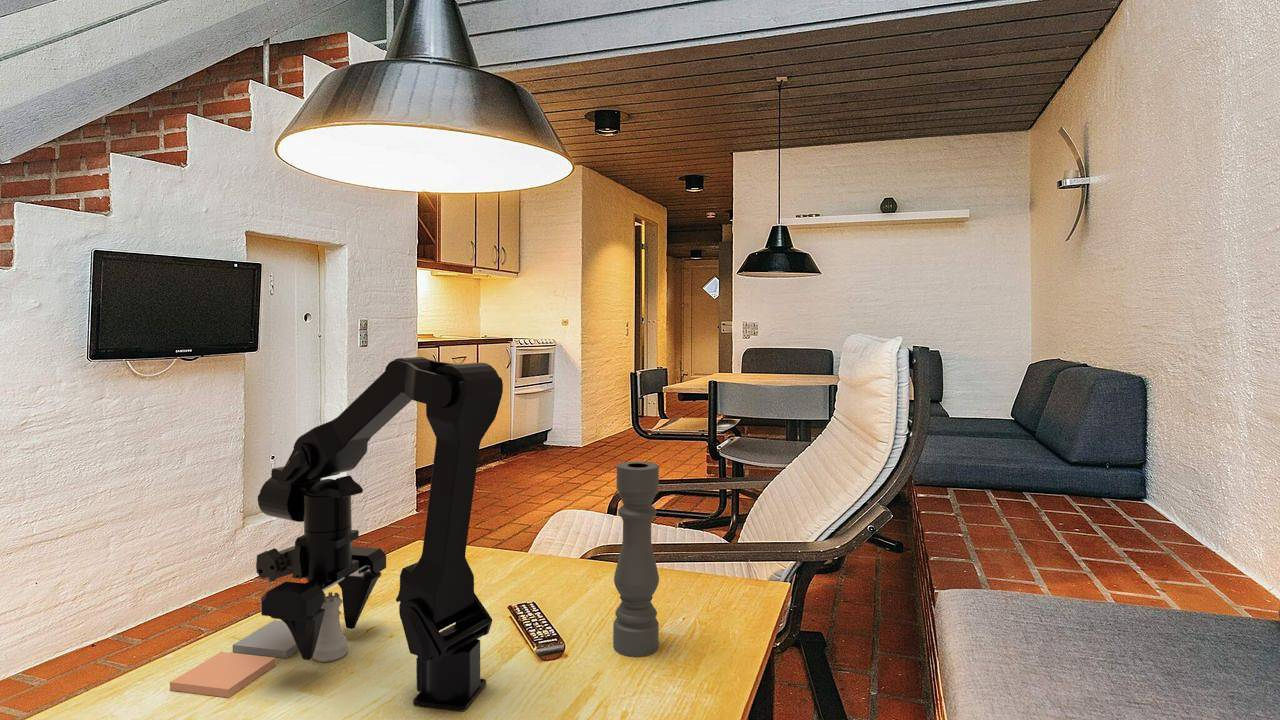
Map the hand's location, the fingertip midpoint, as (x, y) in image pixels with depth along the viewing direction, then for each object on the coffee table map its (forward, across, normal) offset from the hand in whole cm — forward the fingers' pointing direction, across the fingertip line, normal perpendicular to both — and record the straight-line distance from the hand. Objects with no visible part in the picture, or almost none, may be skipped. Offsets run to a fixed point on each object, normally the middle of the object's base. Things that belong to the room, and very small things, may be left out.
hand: (329, 643), depth 95 cm
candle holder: (+2, -11, +39) cm, 41 cm away
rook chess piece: (+2, 0, 0) cm, 2 cm away
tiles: (+2, +3, -9) cm, 10 cm away
